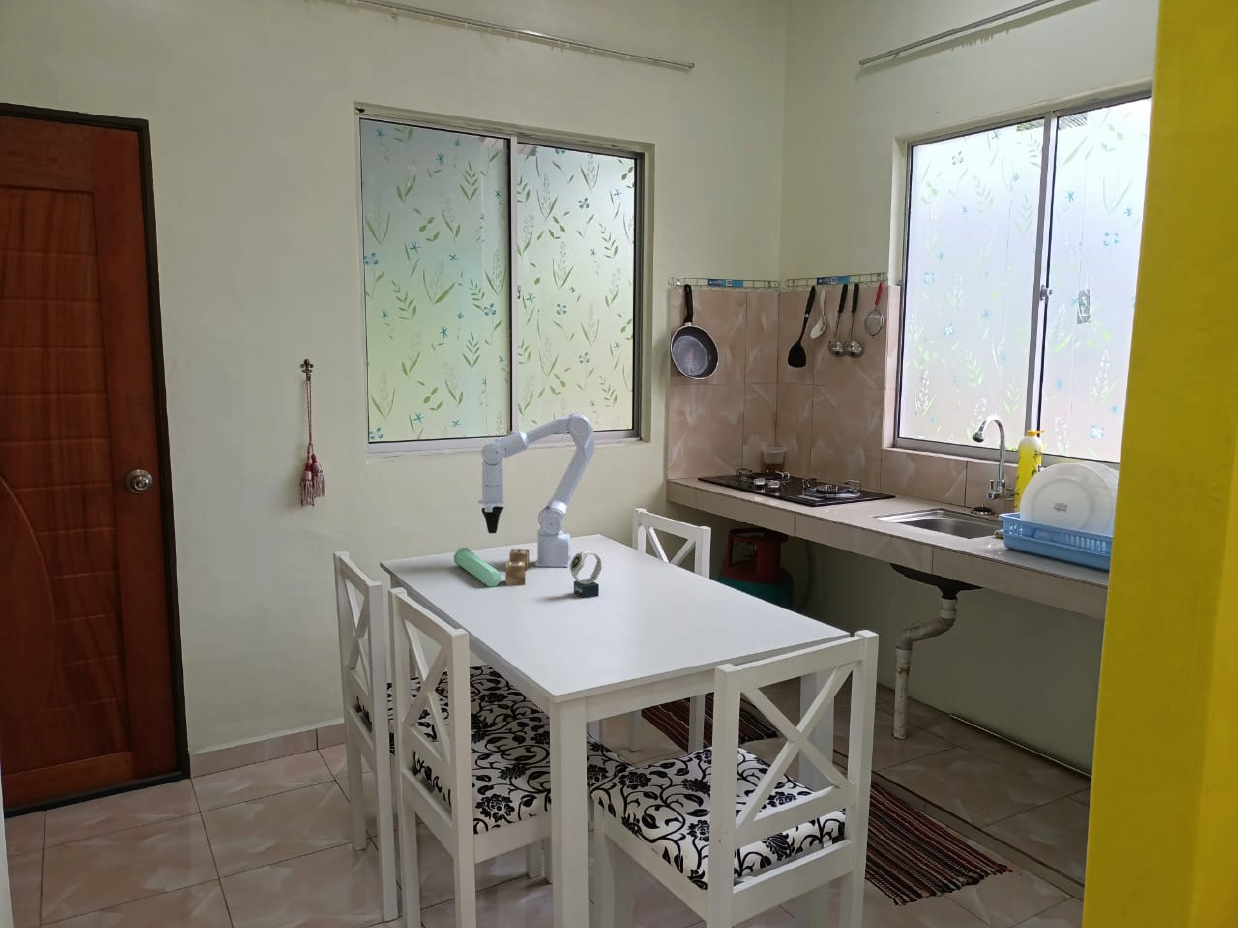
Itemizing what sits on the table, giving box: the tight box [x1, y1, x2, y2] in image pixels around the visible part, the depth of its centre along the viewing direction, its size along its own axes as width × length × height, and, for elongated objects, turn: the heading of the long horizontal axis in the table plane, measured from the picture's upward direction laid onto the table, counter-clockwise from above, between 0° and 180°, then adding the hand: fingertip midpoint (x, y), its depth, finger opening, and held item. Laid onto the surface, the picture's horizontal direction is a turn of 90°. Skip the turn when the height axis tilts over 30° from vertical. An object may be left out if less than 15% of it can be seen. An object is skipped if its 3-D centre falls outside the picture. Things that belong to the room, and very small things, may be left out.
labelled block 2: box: [504, 561, 526, 586], centre depth 240 cm, size 5×5×5 cm
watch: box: [569, 550, 603, 599], centre depth 229 cm, size 6×8×11 cm
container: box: [453, 547, 502, 588], centre depth 246 cm, size 6×6×25 cm
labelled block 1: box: [508, 548, 530, 572], centre depth 254 cm, size 5×5×5 cm
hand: (492, 532), depth 257 cm, fingers closed
